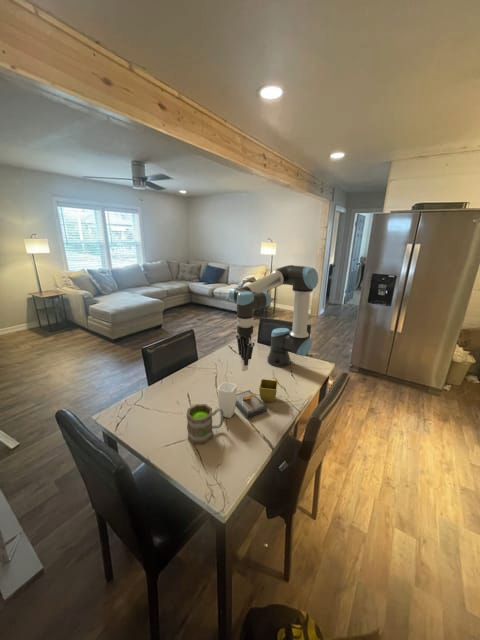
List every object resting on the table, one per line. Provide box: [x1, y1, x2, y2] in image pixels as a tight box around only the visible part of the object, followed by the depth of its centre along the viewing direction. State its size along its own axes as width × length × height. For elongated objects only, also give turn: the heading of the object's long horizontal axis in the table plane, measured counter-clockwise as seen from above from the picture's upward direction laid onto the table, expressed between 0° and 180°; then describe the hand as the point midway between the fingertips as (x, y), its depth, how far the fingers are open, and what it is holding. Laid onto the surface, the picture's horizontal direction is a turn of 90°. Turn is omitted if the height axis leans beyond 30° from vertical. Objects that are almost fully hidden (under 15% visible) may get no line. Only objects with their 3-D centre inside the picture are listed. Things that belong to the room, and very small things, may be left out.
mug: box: [186, 403, 224, 446], centre depth 109 cm, size 16×11×12 cm
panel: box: [235, 389, 268, 420], centre depth 129 cm, size 11×16×3 cm
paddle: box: [242, 393, 257, 400], centre depth 128 cm, size 4×1×7 cm
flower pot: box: [258, 378, 279, 403], centre depth 134 cm, size 9×9×9 cm
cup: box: [217, 381, 238, 419], centre depth 121 cm, size 7×7×15 cm
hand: (244, 370), depth 129 cm, fingers closed
